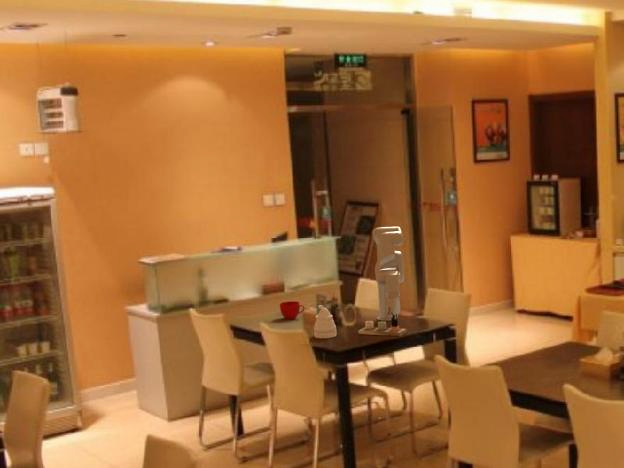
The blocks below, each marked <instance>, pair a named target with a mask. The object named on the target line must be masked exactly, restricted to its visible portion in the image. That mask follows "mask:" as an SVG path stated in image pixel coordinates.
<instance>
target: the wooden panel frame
mask: <svg viewBox="0 0 624 468" xmlns="http://www.w3.org/2000/svg"><path fill="white" fill-rule="evenodd" d="M407 331H408V330H407V328H399V331H398V332H394V331H391V327H386V330H378V326H377V327H376V326H374V329H366V326H364V327H362V328H360V329H359V330H358V332H357V333H358V335H373V336H374V335H375V336H389V335H390V336H391V337H394V336H395V337H401V336H403V335H404V334H406V333H407Z"/></svg>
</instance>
